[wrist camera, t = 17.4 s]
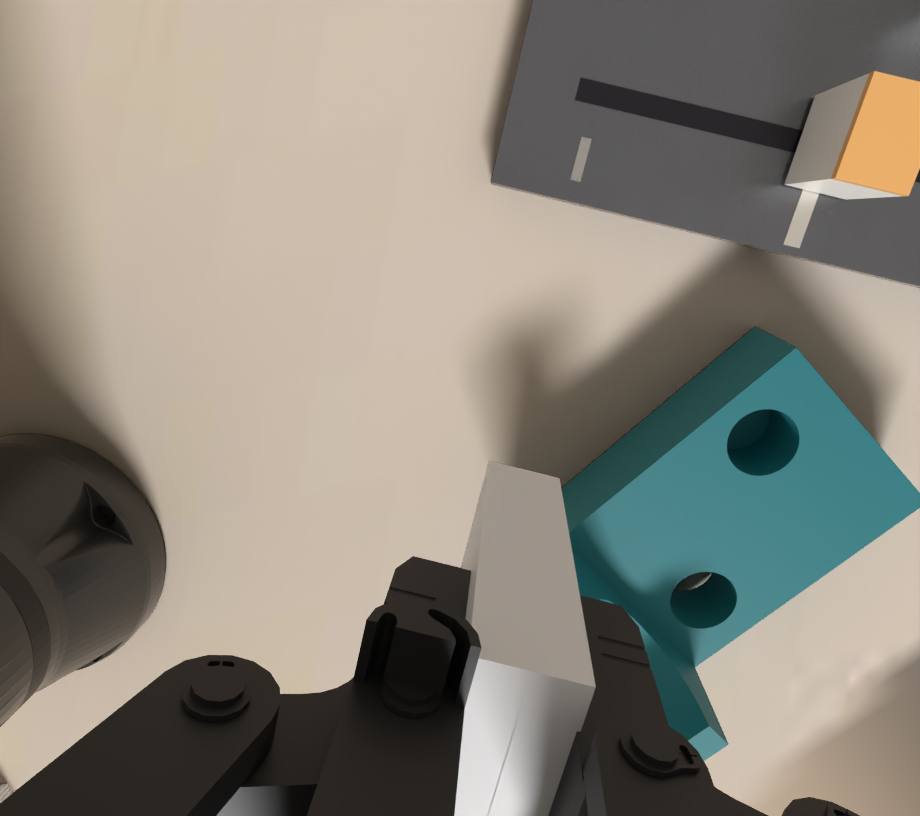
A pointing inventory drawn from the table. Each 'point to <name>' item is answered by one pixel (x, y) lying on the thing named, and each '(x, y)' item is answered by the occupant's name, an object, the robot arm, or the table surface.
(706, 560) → the teal l-shaped bracket
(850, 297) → the table surface
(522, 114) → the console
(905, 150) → the fader
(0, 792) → the flat white panel
